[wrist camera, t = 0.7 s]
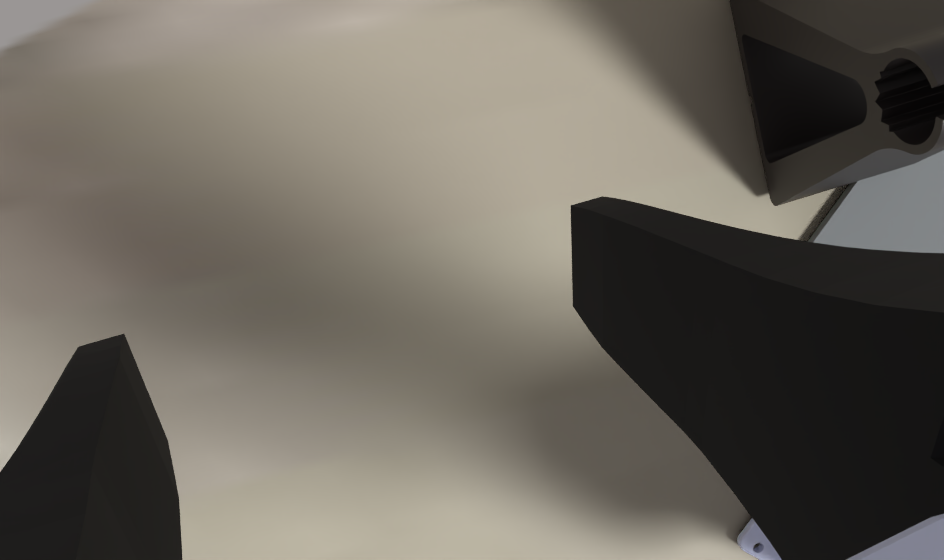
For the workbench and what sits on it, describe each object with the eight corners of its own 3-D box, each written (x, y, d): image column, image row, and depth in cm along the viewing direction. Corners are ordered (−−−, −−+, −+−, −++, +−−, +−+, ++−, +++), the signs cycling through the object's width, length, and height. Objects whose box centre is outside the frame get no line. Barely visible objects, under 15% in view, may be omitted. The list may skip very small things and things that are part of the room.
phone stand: (907, 164, 32) (1177, 202, 21) (770, 204, 32) (961, 265, 21) (874, -57, 30) (1154, -154, 19) (727, -13, 30) (914, -81, 19)
